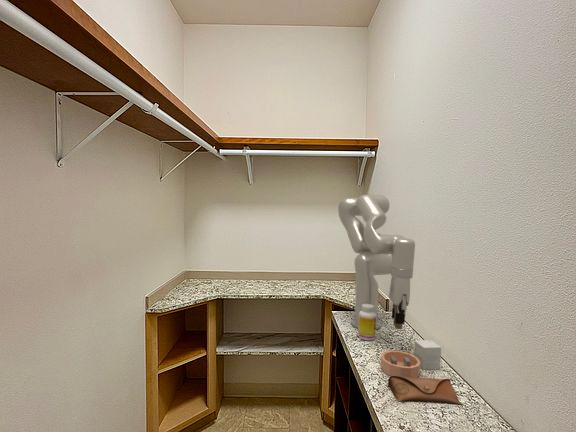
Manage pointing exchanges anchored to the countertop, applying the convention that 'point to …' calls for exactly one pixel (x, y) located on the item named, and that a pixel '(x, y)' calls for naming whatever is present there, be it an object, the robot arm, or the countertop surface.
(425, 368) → the product box
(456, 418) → the countertop surface
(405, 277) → the robot arm
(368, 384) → the countertop surface
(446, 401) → the sunglasses case
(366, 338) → the supplement bottle
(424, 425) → the countertop surface
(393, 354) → the terracotta shallow dish
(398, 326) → the wooden plank
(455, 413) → the countertop surface
